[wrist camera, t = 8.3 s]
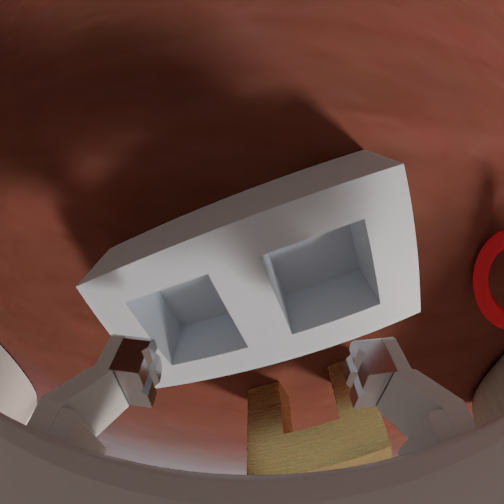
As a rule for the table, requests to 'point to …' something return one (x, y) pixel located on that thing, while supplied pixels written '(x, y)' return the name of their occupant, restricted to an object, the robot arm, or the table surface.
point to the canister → (489, 396)
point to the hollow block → (267, 271)
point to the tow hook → (481, 280)
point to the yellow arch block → (311, 433)
